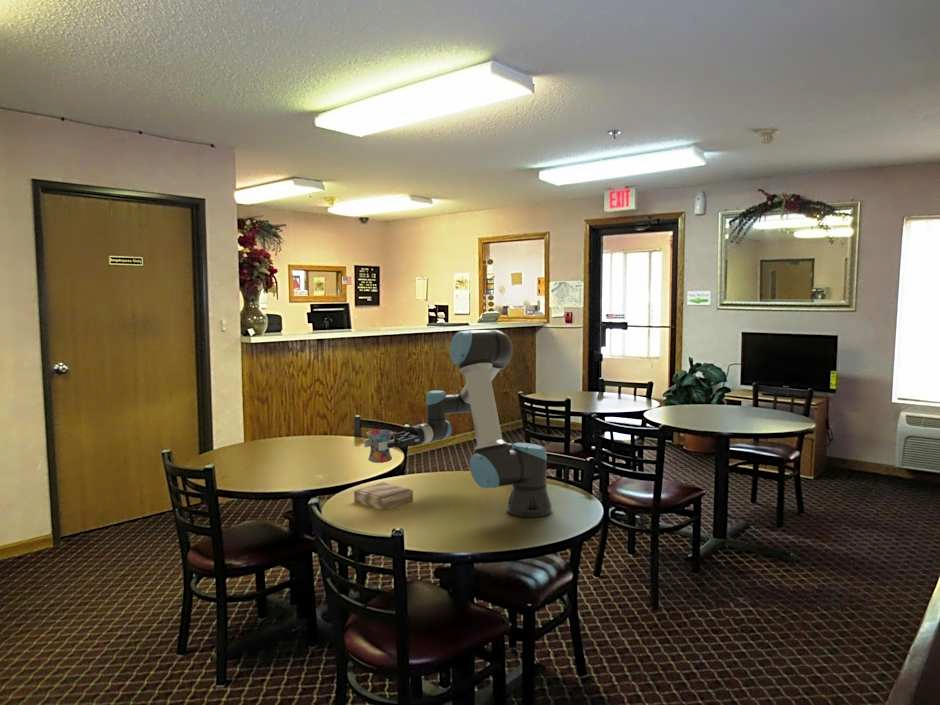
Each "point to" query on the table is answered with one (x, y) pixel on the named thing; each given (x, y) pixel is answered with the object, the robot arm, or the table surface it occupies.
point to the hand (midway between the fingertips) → (372, 445)
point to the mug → (375, 439)
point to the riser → (383, 496)
